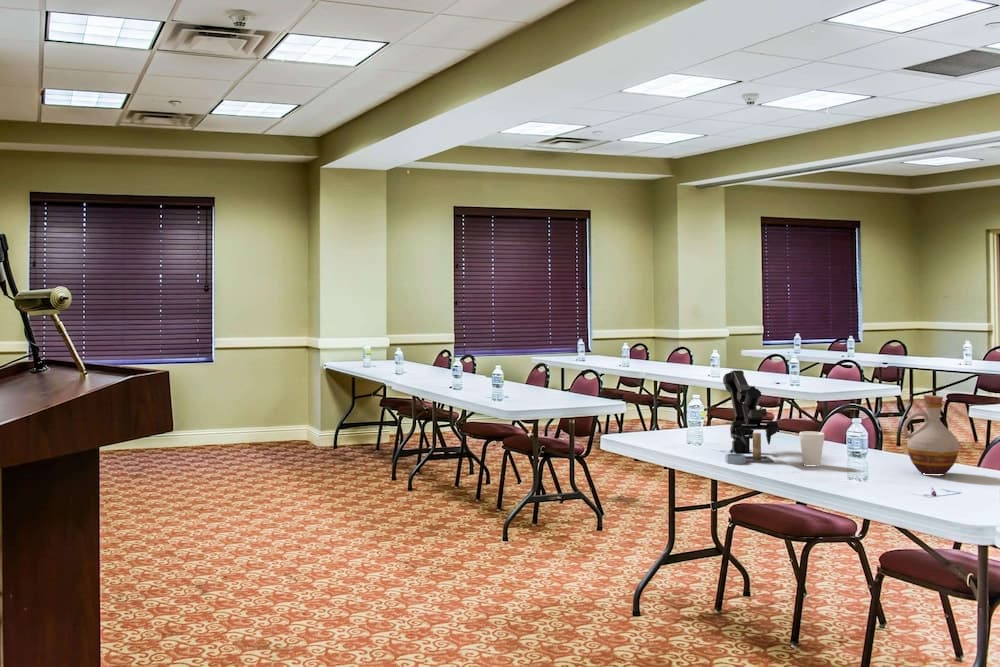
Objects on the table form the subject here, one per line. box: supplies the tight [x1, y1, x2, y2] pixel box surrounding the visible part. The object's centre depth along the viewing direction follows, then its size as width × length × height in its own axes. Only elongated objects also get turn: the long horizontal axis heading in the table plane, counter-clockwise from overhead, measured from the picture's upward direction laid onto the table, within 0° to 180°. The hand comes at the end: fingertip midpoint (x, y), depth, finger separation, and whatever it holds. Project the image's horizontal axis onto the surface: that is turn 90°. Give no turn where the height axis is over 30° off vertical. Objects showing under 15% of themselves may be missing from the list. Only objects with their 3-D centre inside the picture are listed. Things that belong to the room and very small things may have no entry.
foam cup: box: [798, 430, 825, 466], centre depth 366 cm, size 10×9×13 cm
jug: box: [902, 394, 960, 475], centre depth 346 cm, size 20×18×30 cm
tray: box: [745, 455, 775, 464], centre depth 373 cm, size 10×11×2 cm
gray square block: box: [725, 453, 746, 465], centre depth 369 cm, size 7×7×4 cm
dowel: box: [752, 432, 762, 460], centre depth 373 cm, size 3×3×11 cm
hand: (757, 444), depth 371 cm, fingers open, 9 cm apart
